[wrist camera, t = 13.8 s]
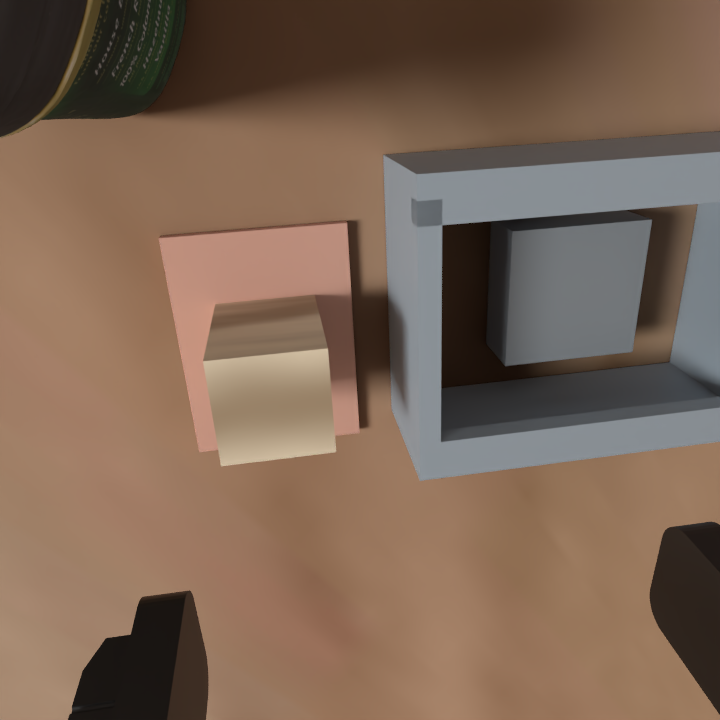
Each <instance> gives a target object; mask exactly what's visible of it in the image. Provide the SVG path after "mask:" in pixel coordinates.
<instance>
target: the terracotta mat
mask: <svg viewBox="0 0 720 720" xmlns="http://www.w3.org/2000/svg"><path fill="white" fill-rule="evenodd" d="M159 243H160V248H161V253H162V258H163V264H164V269H165V274H166V279H167V285H168V290H169V295H170V300H171V306H172V311H173V316H174V321H175V327H176V332H177V337H178V342H179V348H180V353H181V358H182V363H183V368H184V374H185V379H186V384H187V389H188V395H189V400H190V405H191V410H192V416H193V421H194V426H195V431H196V437H197V442H198V447H199V452H205V451H213V450H218V445H217V439H216V433H215V428H214V422H213V416H212V411H211V405H210V399H209V393H208V388H207V382H206V376H205V370H204V365H203V359H204V354H205V349H206V345H207V340H208V335H209V331H210V326H211V321H212V317H213V312H214V307H215V304H220V303H231V302H242V301H252V300H263V299H274V298H284V297H295V296H305V295H315V298H316V302H317V306H318V310H319V314H320V318H321V322H322V326H323V330H324V334H325V339H326V343H327V347H328V355H329V368H330V381H331V394H332V406H333V419H334V432H335V436H337V435H346V434H354V433H360V432H359V415H358V398H357V382H356V365H355V348H354V331H353V314H352V297H351V280H350V263H349V246H348V230H347V222H346V221H337V222H325V223H312V224H300V225H288V226H276V227H263V228H251V229H239V230H227V231H214V232H202V233H190V234H177V235H165V236H160V237H159Z"/></svg>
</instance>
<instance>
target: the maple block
mask: <svg viewBox="0 0 720 720" xmlns="http://www.w3.org/2000/svg"><path fill="white" fill-rule="evenodd" d="M203 365H204V370H205V376H206V382H207V388H208V393H209V399H210V405H211V411H212V416H213V422H214V428H215V433H216V439H217V445H218V451H219V456H220V462H221V466H227V465H235V464H243V463H251V462H259V461H268V460H276V459H284V458H292V457H300V456H308V455H316V454H324V453H333V452H336V444H335V432H334V419H333V406H332V394H331V381H330V368H329V355H328V347H327V343H326V339H325V334H324V330H323V326H322V322H321V318H320V314H319V310H318V306H317V302H316V298H315V295H305V296H295V297H284V298H274V299H263V300H252V301H242V302H231V303H220V304H215V307H214V312H213V317H212V321H211V326H210V331H209V335H208V340H207V345H206V349H205V354H204V359H203Z"/></svg>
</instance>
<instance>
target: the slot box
mask: <svg viewBox="0 0 720 720" xmlns="http://www.w3.org/2000/svg"><path fill="white" fill-rule="evenodd" d="M383 158H384V189H385V219H386V250H387V280H388V311H389V341H390V372H391V403H392V411H393V414H394V416H395V419H396V421H397V424H398V426H399V429H400V431H401V434H402V436H403V439H404V442H405V444H406V447H407V449H408V452H409V454H410V457H411V459H412V462H413V464H414V467H415V469H416V472H417V474H418V477H419V479H420V481H422V480H429V479H437V478H445V477H452V476H460V475H468V474H475V473H483V472H491V471H498V470H506V469H513V468H521V467H529V466H536V465H544V464H552V463H559V462H567V461H575V460H582V459H590V458H598V457H605V456H613V455H621V454H628V453H636V452H644V451H651V450H659V449H666V448H674V447H682V446H689V445H697V444H705V443H712V442H720V131H716V132H701V133H687V134H673V135H659V136H644V137H630V138H616V139H601V140H587V141H573V142H558V143H544V144H530V145H516V146H501V147H487V148H473V149H458V150H444V151H430V152H415V153H401V154H387V155H383ZM690 204H698V207H697V213H696V218H695V224H694V230H693V235H692V241H691V246H690V252H689V257H688V263H687V268H686V274H685V280H684V285H683V291H682V296H681V302H680V307H679V313H678V319H677V324H676V330H675V335H674V341H673V346H672V352H671V357H670V362H667V363H659V364H650V365H641V366H632V367H624V368H615V369H606V370H597V371H589V372H580V373H571V374H562V375H554V376H545V377H536V378H527V379H518V380H510V381H501V382H492V383H483V384H475V385H466V386H457V387H448V388H441V342H442V225H452V224H464V223H475V222H487V221H491V233H490V258H489V283H488V309H487V334H486V344H487V345H488V347H489V348H490V349H491V350H492V351H493V352H494V354H495V355H496V356H497V357H498V358H499V359H500V361H501V362H502V363H503V364H504V365H505V366H510V365H519V364H528V363H537V362H546V361H555V360H564V359H573V358H582V357H591V356H600V355H609V354H618V353H627V352H632V350H633V344H634V337H635V330H636V324H637V317H638V310H639V304H640V297H641V290H642V284H643V277H644V271H645V264H646V257H647V251H648V244H649V237H650V231H651V224H652V219H649V218H646V217H644V216H641V215H638V214H635V213H632V212H629V211H626V210H631V209H643V208H655V207H666V206H678V205H690Z"/></svg>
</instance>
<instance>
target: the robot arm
mask: <svg viewBox="0 0 720 720" xmlns="http://www.w3.org/2000/svg"><path fill="white" fill-rule="evenodd" d="M650 604H651V608H652V612H653V615H654V618H655V620H656V622H657V624H658V626H659V628H660V630H661V631H662V633H663V634H664V635H665V637H666V638H667V640H668V641H669V643H670V644H671V645H672V647H673V648H674V650H675V651H676V653H677V654H678V656H679V657H680V658H681V660H682V661H683V663H684V664H685V666H686V667H687V668H688V670H689V671H690V673H691V674H692V676H693V677H694V678H695V680H696V681H697V683H698V684H699V686H700V687H701V689H702V690H703V691H704V693H705V694H706V696H707V697H708V699H709V700H710V701H711V703H712V704H713V706H714V707H715V709H716V710H717V711H718V713H719V714H720V525H719V524H717V523H715V522H705V523H698V524H691V525H683V526H676V527H669V528H667V529H666V530H665V532H664V534H663V537H662V541H661V545H660V549H659V554H658V558H657V562H656V567H655V571H654V575H653V580H652V584H651V588H650ZM207 701H208V665H207V656H206V651H205V647H204V642H203V638H202V633H201V629H200V625H199V620H198V616H197V611H196V607H195V602H194V598H193V595H192V593H191V591H183V592H176V593H168V594H161V595H154V596H146V597H142V598H141V599H140V601H139V604H138V607H137V611H136V615H135V619H134V624H133V628H132V632H131V635H126V636H119V637H112V638H106V639H105V641H104V642H103V643H102V645H101V646H100V648H99V649H98V650H97V652H96V653H95V655H94V656H93V657H92V659H91V660H90V661H89V663H88V664H87V666H86V667H85V668H84V670H83V672H82V675H81V678H80V682H79V685H78V688H77V692H76V695H75V698H74V702H73V705H72V714H70V715H69V718H68V720H206V712H207Z"/></svg>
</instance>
